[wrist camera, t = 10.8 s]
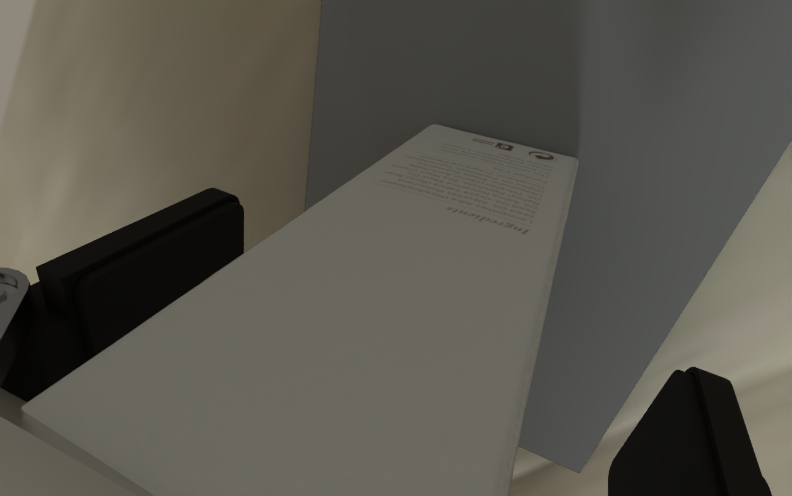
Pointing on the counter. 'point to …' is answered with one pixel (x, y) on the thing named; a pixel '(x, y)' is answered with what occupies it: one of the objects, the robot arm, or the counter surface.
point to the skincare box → (346, 340)
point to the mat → (578, 153)
